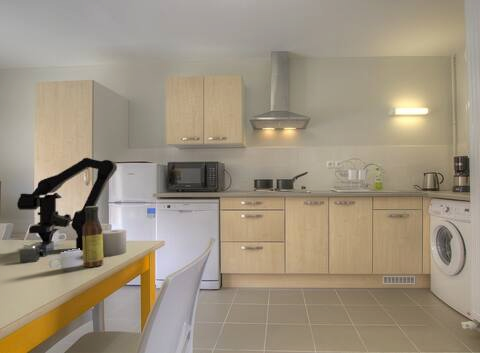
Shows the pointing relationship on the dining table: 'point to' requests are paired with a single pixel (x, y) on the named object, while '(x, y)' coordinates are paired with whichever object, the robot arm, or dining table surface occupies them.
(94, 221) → the sauce bottle
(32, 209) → the robot arm
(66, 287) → the dining table surface
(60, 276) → the dining table surface
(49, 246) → the block
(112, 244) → the toilet tissue
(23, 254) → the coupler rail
